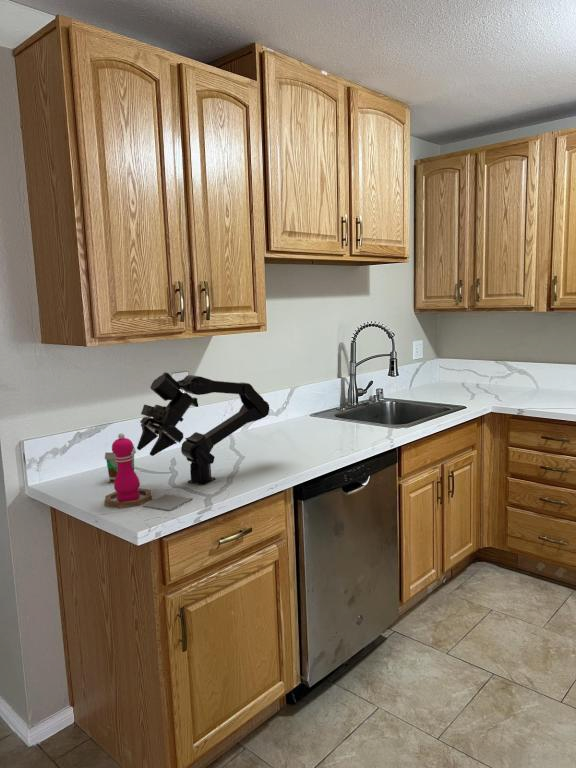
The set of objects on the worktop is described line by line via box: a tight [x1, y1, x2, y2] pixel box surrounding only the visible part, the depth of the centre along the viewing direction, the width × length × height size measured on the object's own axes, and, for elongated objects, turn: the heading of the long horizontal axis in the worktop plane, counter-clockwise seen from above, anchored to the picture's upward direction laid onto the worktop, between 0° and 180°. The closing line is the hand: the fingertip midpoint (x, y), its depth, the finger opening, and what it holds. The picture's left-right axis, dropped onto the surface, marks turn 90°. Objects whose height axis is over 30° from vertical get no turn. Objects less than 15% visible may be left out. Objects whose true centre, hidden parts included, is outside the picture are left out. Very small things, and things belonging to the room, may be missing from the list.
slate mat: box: [141, 493, 194, 512], centre depth 170 cm, size 10×10×1 cm
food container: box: [104, 445, 137, 483], centre depth 195 cm, size 12×6×10 cm, turn 158°
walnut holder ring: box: [104, 487, 153, 509], centre depth 174 cm, size 13×13×1 cm
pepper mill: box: [111, 433, 141, 502], centre depth 172 cm, size 7×7×20 cm
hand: (144, 452), depth 176 cm, fingers open, 9 cm apart
